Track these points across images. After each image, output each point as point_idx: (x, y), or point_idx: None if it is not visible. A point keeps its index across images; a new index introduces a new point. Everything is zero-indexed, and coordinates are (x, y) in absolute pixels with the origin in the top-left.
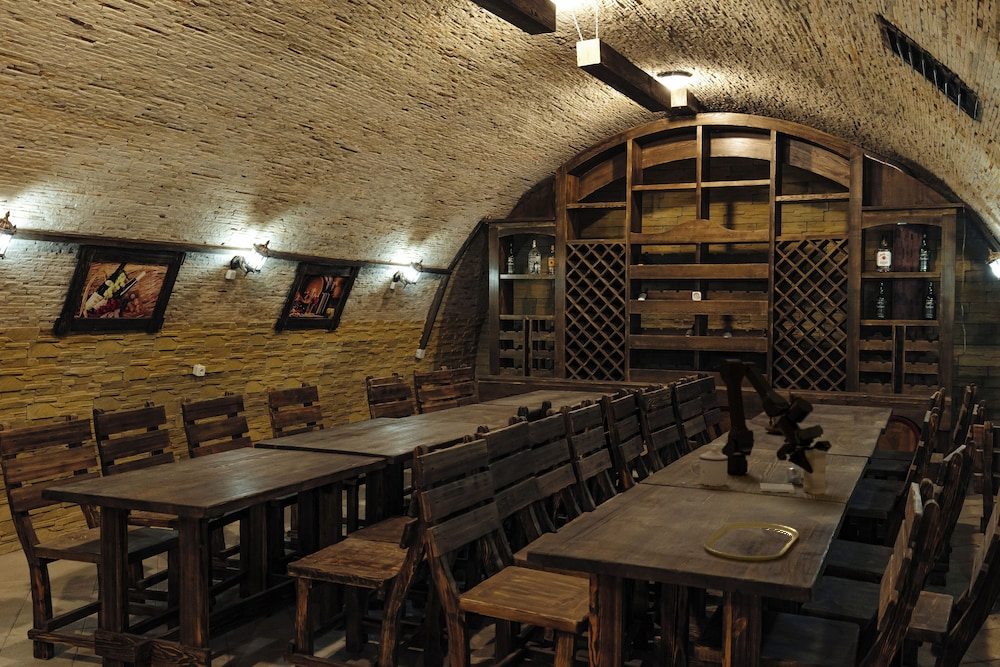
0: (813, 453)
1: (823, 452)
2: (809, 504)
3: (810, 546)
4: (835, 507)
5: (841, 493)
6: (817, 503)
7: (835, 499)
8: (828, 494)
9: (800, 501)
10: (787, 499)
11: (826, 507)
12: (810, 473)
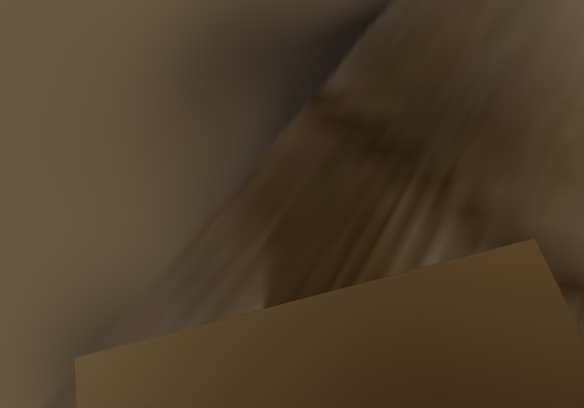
0: (540, 305)
1: (186, 329)
2: (496, 77)
3: None
4: (397, 14)
5: (159, 297)
6: (445, 90)
7: (299, 155)
8: (258, 284)
9: (519, 141)
10: (580, 197)
11: (439, 19)
12: None
